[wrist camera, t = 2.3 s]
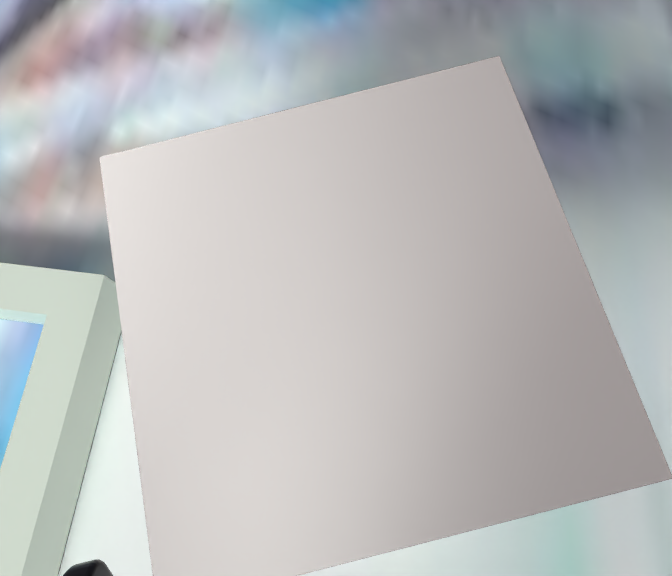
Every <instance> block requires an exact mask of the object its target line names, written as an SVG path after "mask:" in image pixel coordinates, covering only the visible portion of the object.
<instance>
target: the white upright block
mask: <svg viewBox="0 0 672 576" xmlns="http://www.w3.org/2000/svg"><path fill="white" fill-rule="evenodd" d="M100 165H101V173H102V181H103V189H104V197H105V204H106V212H107V220H108V228H109V236H110V244H111V252H112V259H113V267H114V275H115V283H116V291H117V299H118V306H119V314H120V322H121V330H122V338H123V346H124V353H125V361H126V369H127V377H128V385H129V393H130V400H131V408H132V416H133V424H134V432H135V440H136V447H137V455H138V463H139V471H140V479H141V487H142V495H143V502H144V510H145V518H146V526H147V534H148V542H149V549H150V557H151V565H152V573H153V576H298V575H302V574H306V573H310V572H314V571H317V570H321V569H325V568H329V567H333V566H337V565H341V564H345V563H348V562H352V561H356V560H360V559H364V558H368V557H372V556H375V555H379V554H383V553H387V552H391V551H395V550H399V549H402V548H406V547H410V546H414V545H418V544H422V543H426V542H429V541H433V540H437V539H441V538H445V537H449V536H453V535H457V534H460V533H464V532H468V531H472V530H476V529H480V528H484V527H487V526H491V525H495V524H499V523H503V522H507V521H511V520H514V519H518V518H522V517H526V516H530V515H534V514H538V513H541V512H545V511H549V510H553V509H557V508H561V507H565V506H569V505H572V504H576V503H580V502H584V501H588V500H592V499H596V498H599V497H603V496H607V495H611V494H615V493H619V492H623V491H626V490H630V489H634V488H638V487H642V486H646V485H650V484H653V483H657V482H661V481H665V480H669V479H672V474H671V472H670V469H669V467H668V464H667V462H666V460H665V457H664V455H663V452H662V450H661V447H660V445H659V443H658V440H657V438H656V435H655V433H654V430H653V428H652V426H651V423H650V421H649V418H648V416H647V413H646V411H645V409H644V406H643V404H642V401H641V399H640V396H639V394H638V392H637V389H636V387H635V384H634V382H633V379H632V377H631V374H630V372H629V370H628V367H627V365H626V362H625V360H624V357H623V355H622V353H621V350H620V348H619V345H618V343H617V340H616V338H615V336H614V333H613V331H612V328H611V326H610V323H609V321H608V319H607V316H606V314H605V311H604V309H603V306H602V304H601V302H600V299H599V297H598V294H597V292H596V289H595V287H594V285H593V282H592V280H591V277H590V275H589V272H588V270H587V268H586V265H585V263H584V260H583V258H582V255H581V253H580V251H579V248H578V246H577V243H576V241H575V238H574V236H573V234H572V231H571V229H570V226H569V224H568V221H567V219H566V217H565V214H564V212H563V209H562V207H561V204H560V202H559V199H558V197H557V195H556V192H555V190H554V187H553V185H552V182H551V180H550V178H549V175H548V173H547V170H546V168H545V165H544V163H543V161H542V158H541V156H540V153H539V151H538V148H537V146H536V144H535V141H534V139H533V136H532V134H531V131H530V129H529V127H528V124H527V122H526V119H525V117H524V114H523V112H522V110H521V107H520V105H519V102H518V100H517V97H516V95H515V93H514V90H513V88H512V85H511V83H510V80H509V78H508V76H507V73H506V71H505V68H504V66H503V63H502V61H501V59H500V56H496V57H492V58H489V59H485V60H481V61H477V62H473V63H469V64H465V65H461V66H457V67H453V68H449V69H445V70H441V71H437V72H433V73H429V74H426V75H422V76H418V77H414V78H410V79H406V80H402V81H398V82H394V83H390V84H386V85H382V86H378V87H374V88H370V89H366V90H362V91H359V92H355V93H351V94H347V95H343V96H339V97H335V98H331V99H327V100H323V101H319V102H315V103H311V104H307V105H303V106H299V107H296V108H292V109H288V110H284V111H280V112H276V113H272V114H268V115H264V116H260V117H256V118H252V119H248V120H244V121H240V122H236V123H232V124H229V125H225V126H221V127H217V128H213V129H209V130H205V131H201V132H197V133H193V134H189V135H185V136H181V137H177V138H173V139H169V140H166V141H162V142H158V143H154V144H150V145H146V146H142V147H138V148H134V149H130V150H126V151H122V152H118V153H114V154H110V155H106V156H102V157H100Z"/></svg>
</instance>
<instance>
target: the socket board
mask: <svg viewBox="0 0 672 576" xmlns="http://www.w3.org/2000/svg"><path fill="white" fill-rule="evenodd" d="M0 319H6V320H14V321H22V322H29V323H37V324H44V326H43V329H42V333H41V336H40V339H39V343H38V346H37V349H36V353H35V356H34V359H33V362H32V366H31V369H30V372H29V376H28V379H27V382H26V386H25V389H24V392H23V396H22V399H21V402H20V406H19V409H18V412H17V416H16V419H15V422H14V426H13V429H12V432H11V435H10V439H9V442H8V445H7V449H6V452H5V455H4V459H3V462H2V465H1V469H0V576H58V572H59V568H60V565H61V561H62V557H63V553H64V549H65V545H66V541H67V538H68V534H69V530H70V526H71V522H72V518H73V515H74V511H75V507H76V503H77V499H78V495H79V491H80V488H81V484H82V480H83V476H84V472H85V468H86V464H87V461H88V457H89V453H90V449H91V445H92V441H93V438H94V434H95V430H96V426H97V422H98V418H99V414H100V411H101V407H102V403H103V399H104V395H105V391H106V387H107V384H108V380H109V376H110V372H111V368H112V364H113V361H114V357H115V353H116V349H117V345H118V341H119V337H120V334H121V322H120V314H119V306H118V299H117V291H116V283H115V282H114V281H113V280H111V279H110V278H108V277H107V276H105V275H100V274H92V273H83V272H75V271H67V270H58V269H50V268H42V267H33V266H25V265H17V264H8V263H0Z"/></svg>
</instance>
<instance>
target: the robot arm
mask: <svg viewBox="0 0 672 576" xmlns="http://www.w3.org/2000/svg"><path fill="white" fill-rule="evenodd" d="M63 576H113V575H112V573H111V572H110V570H109V569H108V567H107V565H106V564H105V563H104V562H103V561H101V560H92V561H88V562H84V563H80V564H76V565H74V566H72V567H71V568H69V569H68V570H67V571H66V573H65V574H64V575H63Z"/></svg>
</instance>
